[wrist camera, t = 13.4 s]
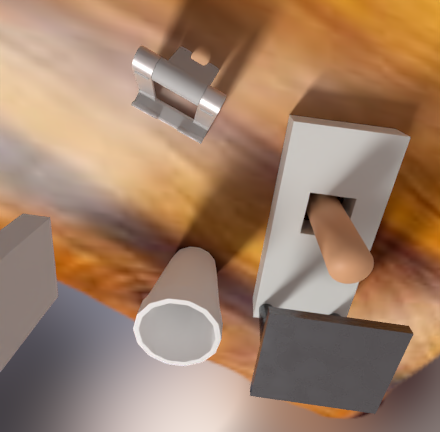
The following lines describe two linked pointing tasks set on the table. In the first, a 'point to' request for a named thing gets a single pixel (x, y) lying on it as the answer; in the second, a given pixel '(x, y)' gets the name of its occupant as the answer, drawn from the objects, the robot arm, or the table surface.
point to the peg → (338, 240)
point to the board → (328, 185)
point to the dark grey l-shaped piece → (326, 358)
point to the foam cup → (182, 311)
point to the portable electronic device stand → (177, 90)
